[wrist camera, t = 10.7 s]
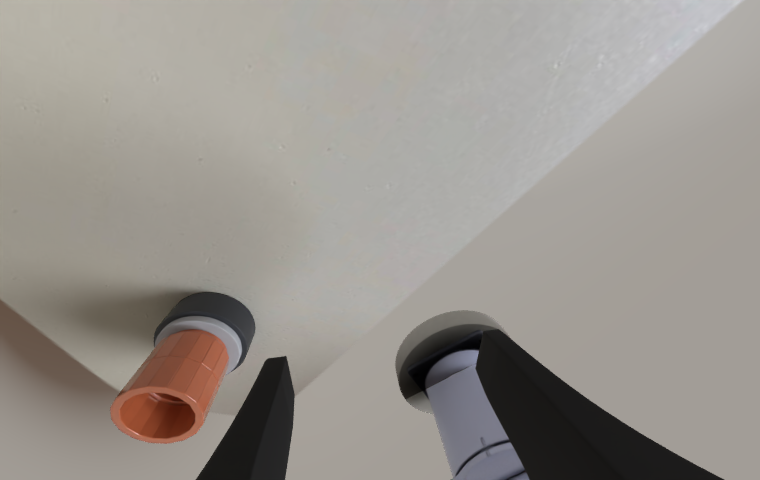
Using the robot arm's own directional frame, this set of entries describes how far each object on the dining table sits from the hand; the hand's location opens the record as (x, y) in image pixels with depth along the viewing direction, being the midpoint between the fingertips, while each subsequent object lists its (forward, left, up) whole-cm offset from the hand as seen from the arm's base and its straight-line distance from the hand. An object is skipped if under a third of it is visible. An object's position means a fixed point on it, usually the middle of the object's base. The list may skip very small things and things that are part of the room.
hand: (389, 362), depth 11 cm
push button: (+1, +12, -10) cm, 15 cm away
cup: (+1, +12, -7) cm, 14 cm away
